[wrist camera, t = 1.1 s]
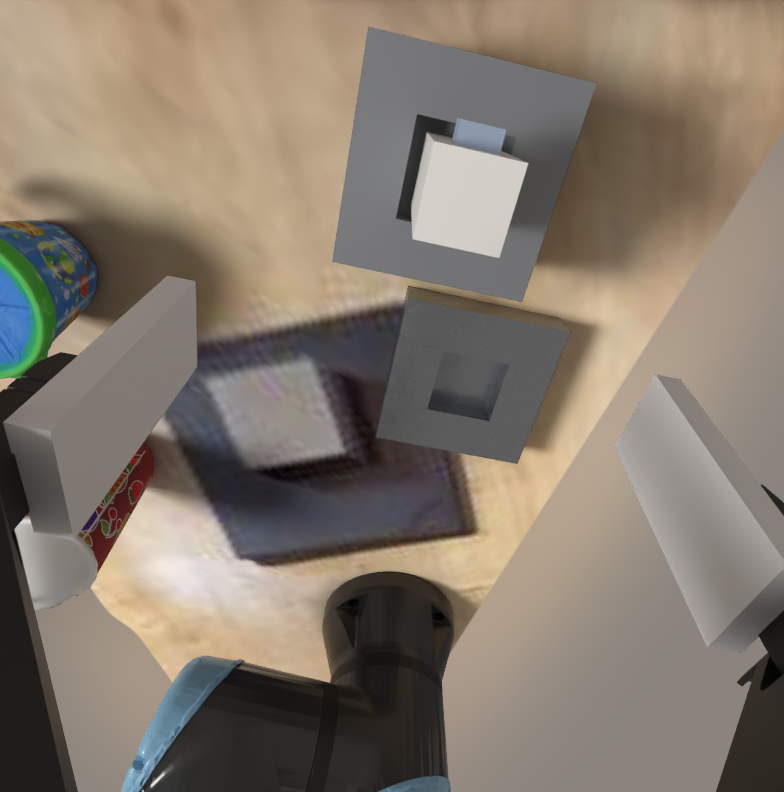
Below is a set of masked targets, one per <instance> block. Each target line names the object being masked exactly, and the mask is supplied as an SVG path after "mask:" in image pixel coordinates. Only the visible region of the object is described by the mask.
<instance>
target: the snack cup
mask: <svg viewBox="0 0 784 792" xmlns="http://www.w3.org/2000/svg"><path fill="white" fill-rule="evenodd" d="M96 276H97V269H96V266H95V263H93V262H92V260H91V258H90V256H89V253H88V252H87V250H86V249H85V248H84V247H83V246H82V245H81V244H80V243H79V242H78V241H77V240H76V239H75V238H73V237H72V236H71V235H70V234H69V233H68V232H67V231H65V230H64V229H63V228H62V227H61V226H58V225H52V224H48V223H45V222H41V221H34V220H26V221H7V222H0V379H2V378H9V377H12V378H15V379H17V378H21V375H22V374H23V373H25V372H26V371H27V370H28V369H29V368H31V367H32V366H33V365H34V364H36V363H37V362H39V361H41V360H44V359H46V358H47V355H48V350H49V349H50V347H51V344H52V342H53V341H54V340H55V338H56V337H57V336H58V335H60V334H61V333H62V332H63V331H64V330H65V329H66V328H67V327H68V326H69V325H70V324H71V323H72V322H73V321H74V320H75V319H76V317H77V316H78V315H79V313H80V312H82V311H83V310H84V309H85V308H86V307H87V306H88V305H89V302H90V301H91V300H92V298H93V296H94V294H95V291H96V288H97V280H96Z"/></svg>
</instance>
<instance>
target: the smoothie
mask: <svg viewBox="0 0 784 792" xmlns="http://www.w3.org/2000/svg"><path fill="white" fill-rule="evenodd" d="M153 470H154V467H153V457H152V454H151V451H150V450H149V448H148V447H147V446H146V444H144V443H143V444H142V445H141V447H140V448H139V449H138V451H137V452H136V454H135V455H134V456H133V458H132V459H131V461H130V462H129V463H128V465H127V466H126V468H125V469H124V471H123V472H122V473H121V475H120V476H119V478H118V479H117V480H116V482H115V483H114V485H113V486H112V487H111V489H110V490H109V492H108V493H107V494H106V496H105V497H104V499H103V500H102V501H101V503H100V504H99V506H98V507H97V508H96V510H95V511H94V513H93V514H92V516H91V517H90V518H89V520H88V521H87V523H86V524H85V525H84V527H83V528H82V530H81V531H80V532H79V534H78V535H77V537H76V538H75V539H74V540H71V539H65V538H60V537H54V536H48V535H42V534H36V533H34V531H33V528H32V524H31V520H30V517H29V513H28V514H27V515H26V516H25V517H24V519H23V520H22V521H21V522H20V523H19V524H18V526H17V527H16V528H15V533H16V536H17V539H18V543H19V548H20V552H21V556H22V560H23V564H24V568H25V573H26V577H27V581H28V585H29V589H30V594H31V598H32V602H33V606H34V610H35V611H40V610H44V609H50V608H53V607H55V606H58V605H60V604H62V603H63V602H65V601H67V600H68V599H70V598H71V597H74V596H78V595H80V594H81V593H83V592H85V591H86V590H88V589H89V588H90V587H91V585H92V584H93V582H94V581H95V579H96V577H97V573H98V571H99V570H100V568H101V566H102V565H103V563H104V561H105V559H106V558H107V556H108V554H109V552H110V551H111V549H112V547H113V545H114V544H115V542H116V540H117V538H118V537H119V535H120V533H121V531H122V530H123V528H124V526H125V524H126V523H127V521H128V519H129V517H130V515H131V514H132V512H133V510H134V508H135V507H136V505H137V503H138V501H139V500H140V498H141V496H142V494H143V493H144V491H145V489H146V487H147V486H148V484H149V482H150V481H151V479H152V477H153Z"/></svg>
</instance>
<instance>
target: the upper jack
mask: <svg viewBox="0 0 784 792" xmlns="http://www.w3.org/2000/svg"><path fill="white" fill-rule="evenodd" d="M596 84H597V83H593V82H589V81H585V80H581V79H577V78H573V77H569V76H565V75H561V74H557V73H553V72H549V71H545V70H541V69H537V68H533V67H529V66H525V65H521V64H517V63H513V62H509V61H505V60H501V59H497V58H493V57H489V56H485V55H481V54H477V53H473V52H469V51H465V50H461V49H457V48H453V47H449V46H445V45H441V44H437V43H433V42H429V41H425V40H421V39H417V38H413V37H409V36H405V35H401V34H397V33H393V32H389V31H385V30H381V29H377V28H373V27H368V32H367V39H366V45H365V52H364V58H363V65H362V71H361V78H360V85H359V91H358V98H357V104H356V111H355V117H354V124H353V130H352V137H351V143H350V150H349V156H348V163H347V169H346V176H345V182H344V189H343V195H342V202H341V208H340V215H339V221H338V228H337V234H336V241H335V247H334V254H333V261H332V262H336V263H341V264H346V265H350V266H355V267H360V268H364V269H369V270H374V271H378V272H383V273H388V274H393V275H397V276H402V277H407V278H411V279H416V280H421V281H425V282H430V283H435V284H440V285H444V286H449V287H454V288H458V289H463V290H468V291H472V292H477V293H482V294H486V295H491V296H496V297H501V298H505V299H510V300H515V301H519V302H522V300H523V298H524V295H525V292H526V289H527V286H528V283H529V280H530V277H531V274H532V271H533V268H534V265H535V263H536V260H537V257H538V254H539V251H540V248H541V245H542V242H543V239H544V236H545V233H546V230H547V227H548V225H549V222H550V219H551V216H552V213H553V210H554V207H555V204H556V201H557V198H558V195H559V192H560V189H561V187H562V184H563V181H564V178H565V175H566V172H567V169H568V166H569V163H570V160H571V157H572V154H573V151H574V149H575V146H576V143H577V140H578V137H579V134H580V131H581V128H582V125H583V122H584V119H585V116H586V113H587V111H588V108H589V105H590V102H591V99H592V96H593V93H594V90H595V87H596ZM457 118H459V119H464V120H468V121H472V122H476V123H480V124H485V125H489V126H493V127H497V128H501V129H506V134H505V137H504V141H503V144H502V148H501V151H503V152H505V153H508V154H510V155H512V156H514V157H516V158H518V159H520V160H523V161H525V162H527V163H528V166H527V169H526V173H525V176H524V179H523V183H522V186H521V189H520V192H519V196H518V199H517V202H516V205H515V209H514V212H513V215H512V218H511V222H510V225H509V228H508V231H507V235H506V238H505V241H504V244H503V248H502V251H501V254H500V257H499V258H496V257H492V256H487V255H483V254H478V253H474V252H469V251H464V250H460V249H455V248H451V247H446V246H442V245H437V244H432V243H428V242H423V241H419V240H414V239H412V216H411V200H412V196H413V191H414V186H415V182H416V177H417V172H418V168H419V163H420V159H421V154H422V149H423V145H424V140H425V135H426V131H428V132H432V133H436V134H441V135H445V136H449V137H453V134H454V130H455V126H456V122H457Z"/></svg>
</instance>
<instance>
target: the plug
mask: <svg viewBox="0 0 784 792" xmlns="http://www.w3.org/2000/svg"><path fill="white" fill-rule="evenodd" d="M505 134H506V129H501V128H497V127H493V126H489V125H485V124H480V123H476V122H472V121H468V120H464V119H459V118H457V122H456V126H455V130H454V134H453V137H449V136H445V135H441V134H436V133H432V132H428V131H426V135H425V140H424V145H423V149H422V154H421V159H420V163H419V168H418V172H417V177H416V182H415V186H414V191H413V196H412V200H411V216H412V239H414V240H419V241H423V242H428V243H432V244H437V245H442V246H446V247H451V248H455V249H460V250H464V251H469V252H474V253H478V254H483V255H487V256H492V257H496V258H499V257H500V254H501V251H502V248H503V244H504V241H505V238H506V235H507V231H508V228H509V225H510V222H511V218H512V215H513V212H514V209H515V205H516V202H517V199H518V196H519V192H520V189H521V186H522V183H523V179H524V176H525V173H526V169H527V166H528V163H527V162H525V161H523V160H520V159H518V158H516V157H514V156H512V155H510V154H508V153H505V152H503V151H501V148H502V144H503V141H504V137H505Z"/></svg>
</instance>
